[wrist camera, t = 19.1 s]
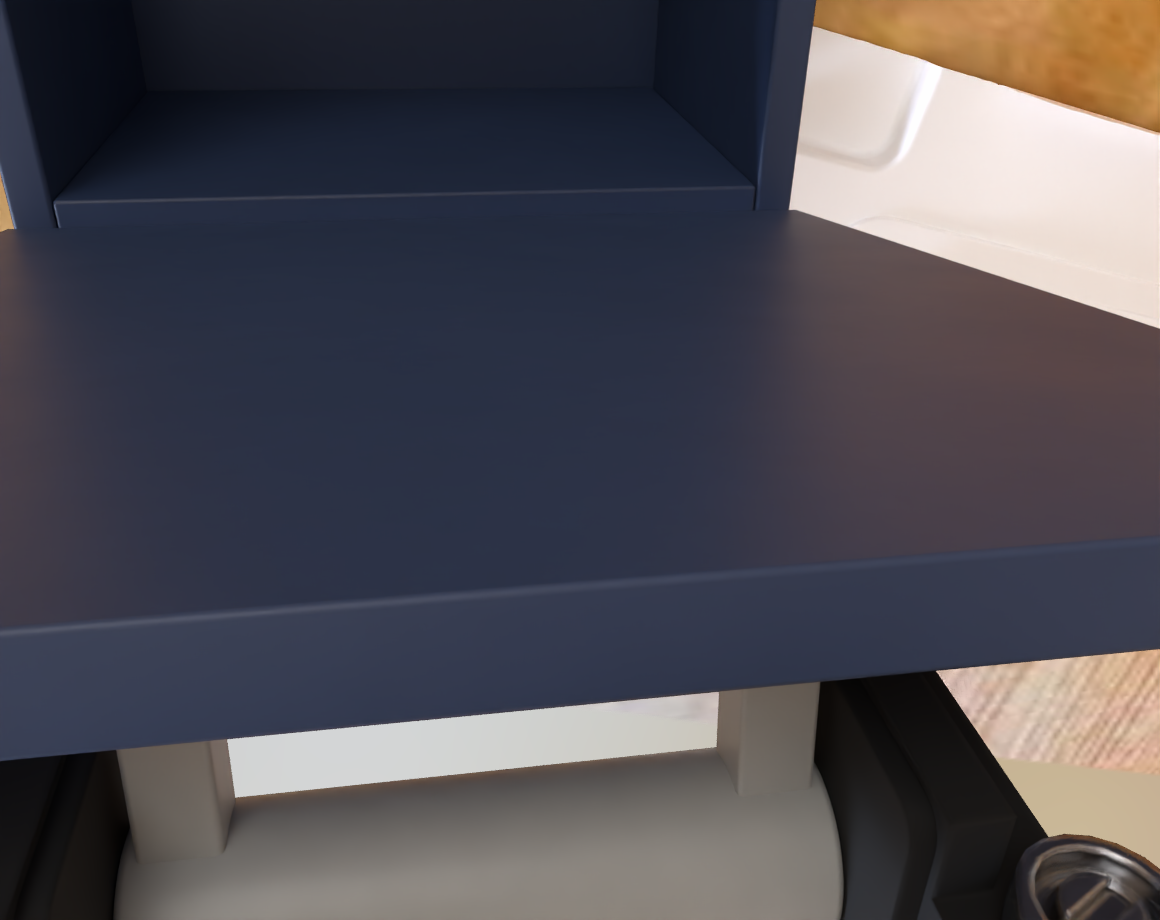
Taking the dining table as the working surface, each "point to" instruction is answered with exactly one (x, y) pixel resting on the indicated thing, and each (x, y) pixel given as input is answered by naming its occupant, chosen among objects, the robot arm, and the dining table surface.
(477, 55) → the navy storage box
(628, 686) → the navy door with handle
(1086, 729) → the dining table surface
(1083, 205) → the tray
